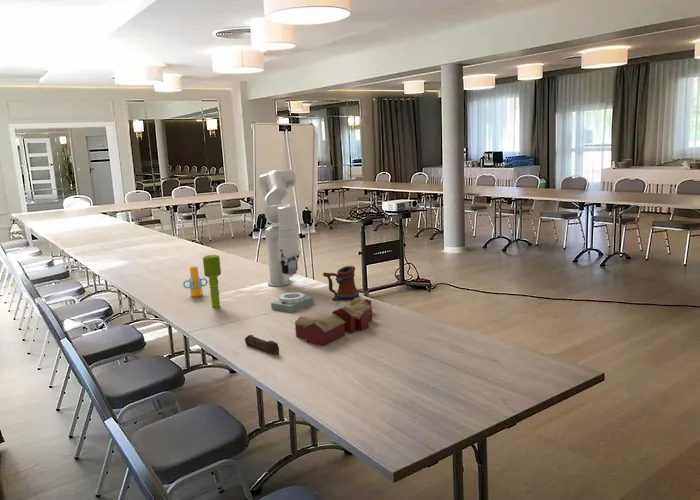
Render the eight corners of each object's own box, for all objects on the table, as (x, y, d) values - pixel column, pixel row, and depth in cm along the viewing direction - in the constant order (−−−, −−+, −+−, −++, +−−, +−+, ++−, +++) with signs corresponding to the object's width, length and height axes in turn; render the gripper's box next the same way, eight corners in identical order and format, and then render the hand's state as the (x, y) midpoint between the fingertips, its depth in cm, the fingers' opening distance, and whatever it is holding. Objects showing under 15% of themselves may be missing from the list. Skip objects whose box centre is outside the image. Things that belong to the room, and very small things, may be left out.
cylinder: (200, 298, 293) (197, 269, 290) (181, 298, 295) (178, 269, 292) (211, 292, 304) (208, 264, 301) (192, 292, 306) (189, 264, 304)
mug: (331, 304, 271) (329, 273, 268) (319, 299, 280) (317, 269, 277) (363, 297, 280) (362, 267, 277) (351, 292, 289) (349, 263, 286)
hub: (289, 271, 273) (288, 256, 271) (299, 272, 269) (298, 257, 268) (281, 273, 268) (279, 259, 266) (291, 275, 264) (289, 260, 263)
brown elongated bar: (244, 346, 223) (243, 334, 222) (253, 343, 226) (252, 331, 225) (272, 358, 209) (271, 346, 208) (281, 355, 212) (280, 343, 211)
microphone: (220, 309, 273) (215, 257, 268) (205, 308, 274) (199, 257, 270) (227, 304, 281) (222, 253, 276) (212, 304, 282) (207, 253, 277)
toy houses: (329, 348, 216) (327, 322, 214) (288, 339, 229) (286, 314, 227) (394, 315, 251) (393, 292, 249) (356, 308, 264) (355, 287, 262)
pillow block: (293, 300, 281) (292, 290, 280) (313, 303, 275) (312, 292, 274) (271, 309, 268) (270, 298, 267) (291, 312, 262) (290, 301, 261)
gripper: (293, 229, 274) (295, 267, 277) (268, 236, 260) (271, 275, 263) (305, 230, 270) (308, 268, 273) (281, 237, 256) (284, 276, 259)
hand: (290, 271), depth 268 cm, fingers closed on hub, 6 cm apart
